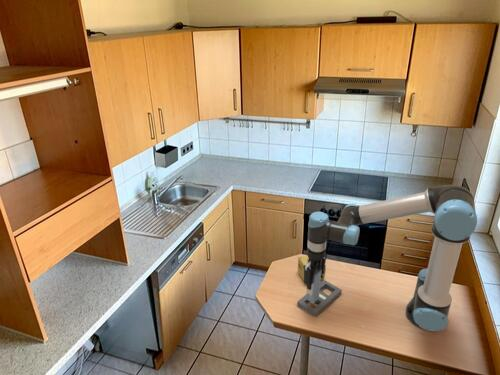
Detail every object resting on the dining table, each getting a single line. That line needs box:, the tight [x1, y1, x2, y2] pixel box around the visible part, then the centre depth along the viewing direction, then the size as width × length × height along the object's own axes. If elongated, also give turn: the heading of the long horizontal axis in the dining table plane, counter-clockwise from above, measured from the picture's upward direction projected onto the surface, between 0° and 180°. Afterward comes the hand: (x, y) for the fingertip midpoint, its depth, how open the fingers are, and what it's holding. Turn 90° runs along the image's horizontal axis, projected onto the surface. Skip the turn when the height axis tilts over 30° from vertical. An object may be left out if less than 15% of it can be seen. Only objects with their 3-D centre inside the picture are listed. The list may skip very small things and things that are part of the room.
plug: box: [305, 269, 322, 304], centre depth 163 cm, size 4×4×16 cm
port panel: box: [296, 279, 343, 318], centre depth 171 cm, size 10×20×3 cm, turn 135°
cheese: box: [297, 255, 327, 286], centre depth 184 cm, size 10×11×10 cm
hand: (313, 290), depth 164 cm, fingers closed on plug, 4 cm apart
